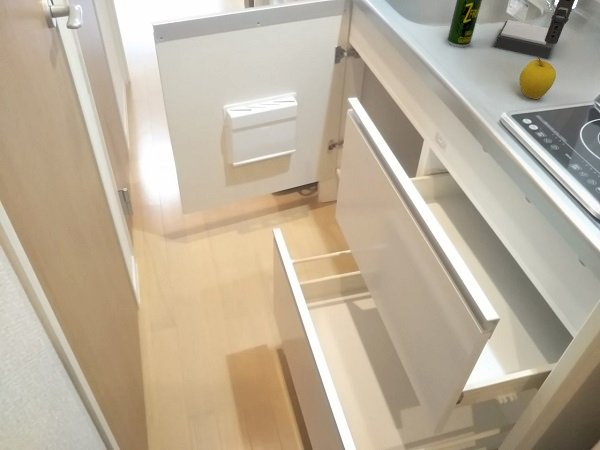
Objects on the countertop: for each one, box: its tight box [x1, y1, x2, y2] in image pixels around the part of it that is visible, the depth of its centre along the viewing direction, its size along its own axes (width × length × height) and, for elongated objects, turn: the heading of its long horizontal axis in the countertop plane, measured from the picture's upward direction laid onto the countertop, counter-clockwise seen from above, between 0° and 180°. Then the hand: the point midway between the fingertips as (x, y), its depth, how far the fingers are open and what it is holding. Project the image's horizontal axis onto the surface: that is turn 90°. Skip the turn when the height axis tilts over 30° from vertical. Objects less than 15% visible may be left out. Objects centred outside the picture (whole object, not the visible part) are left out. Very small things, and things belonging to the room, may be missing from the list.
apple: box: [518, 56, 557, 100], centre depth 102 cm, size 6×6×8 cm
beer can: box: [447, 0, 483, 48], centre depth 118 cm, size 5×5×12 cm
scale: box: [494, 19, 554, 59], centre depth 122 cm, size 12×11×3 cm
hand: (553, 34), depth 96 cm, fingers open, 8 cm apart
